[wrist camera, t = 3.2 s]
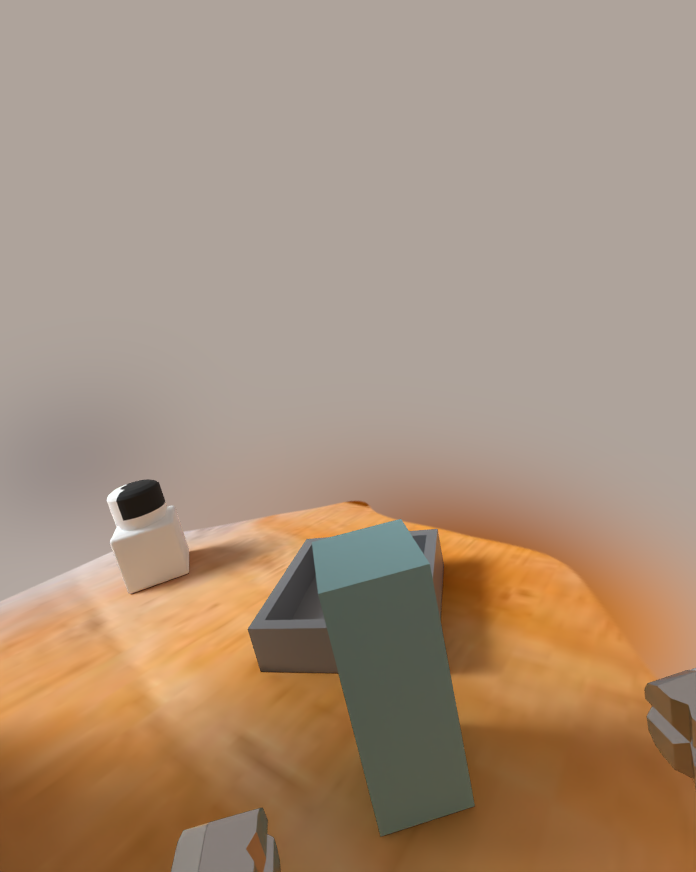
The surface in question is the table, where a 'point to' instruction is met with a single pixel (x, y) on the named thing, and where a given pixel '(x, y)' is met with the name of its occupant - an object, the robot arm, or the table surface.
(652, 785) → the table surface
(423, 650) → the tall teal prism
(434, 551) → the box
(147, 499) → the medicine bottle
